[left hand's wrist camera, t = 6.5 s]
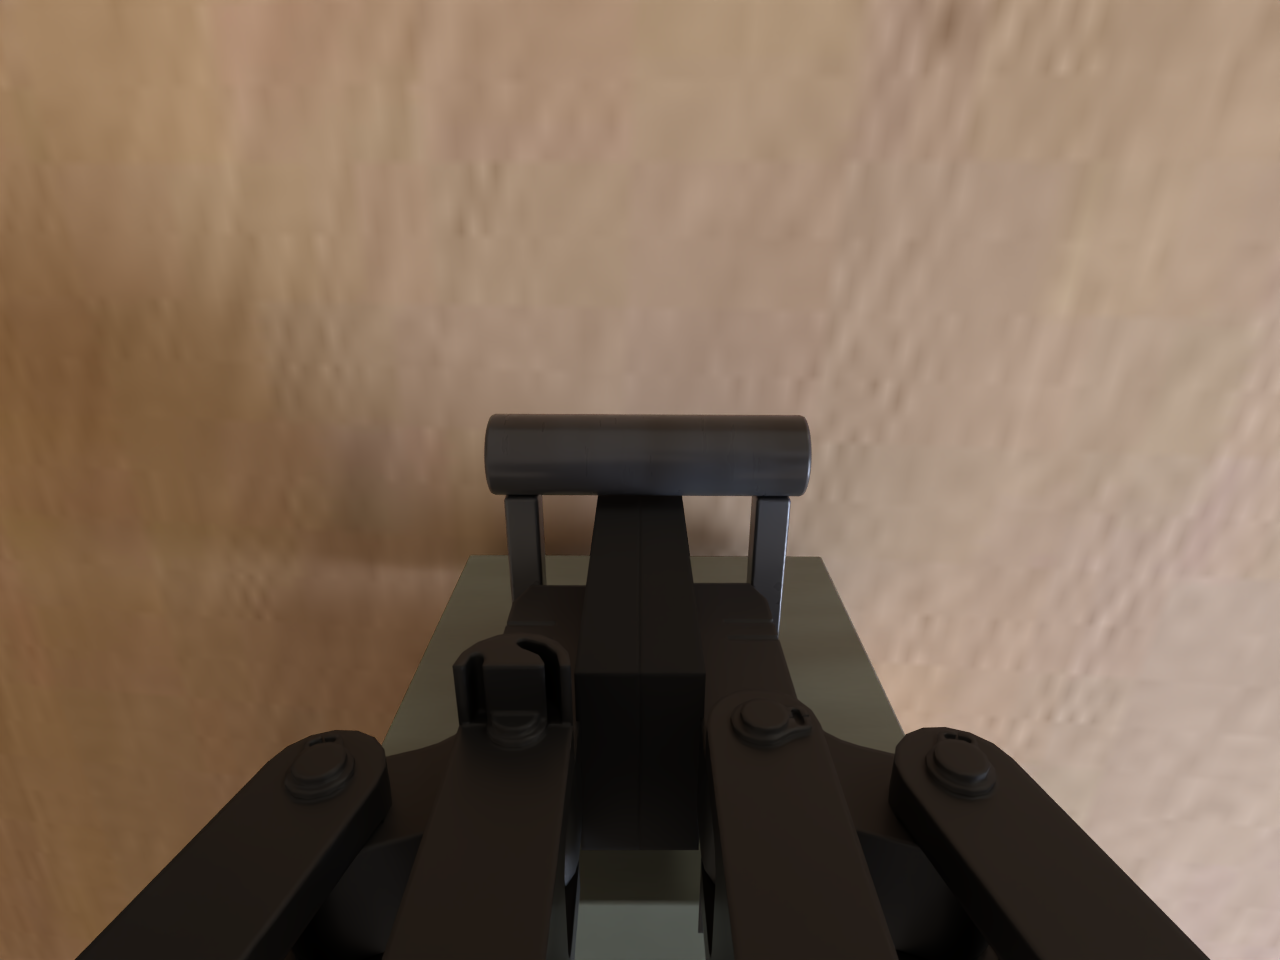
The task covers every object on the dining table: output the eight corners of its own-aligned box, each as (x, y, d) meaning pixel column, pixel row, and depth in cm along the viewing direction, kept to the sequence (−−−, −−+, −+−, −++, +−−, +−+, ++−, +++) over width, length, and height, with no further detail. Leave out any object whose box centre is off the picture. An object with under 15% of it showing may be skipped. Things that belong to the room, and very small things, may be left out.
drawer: (450, 353, 17) (224, 555, 8) (843, 355, 17) (1077, 559, 8) (514, 1029, 26) (445, 1484, 17) (769, 1031, 26) (838, 1488, 17)
